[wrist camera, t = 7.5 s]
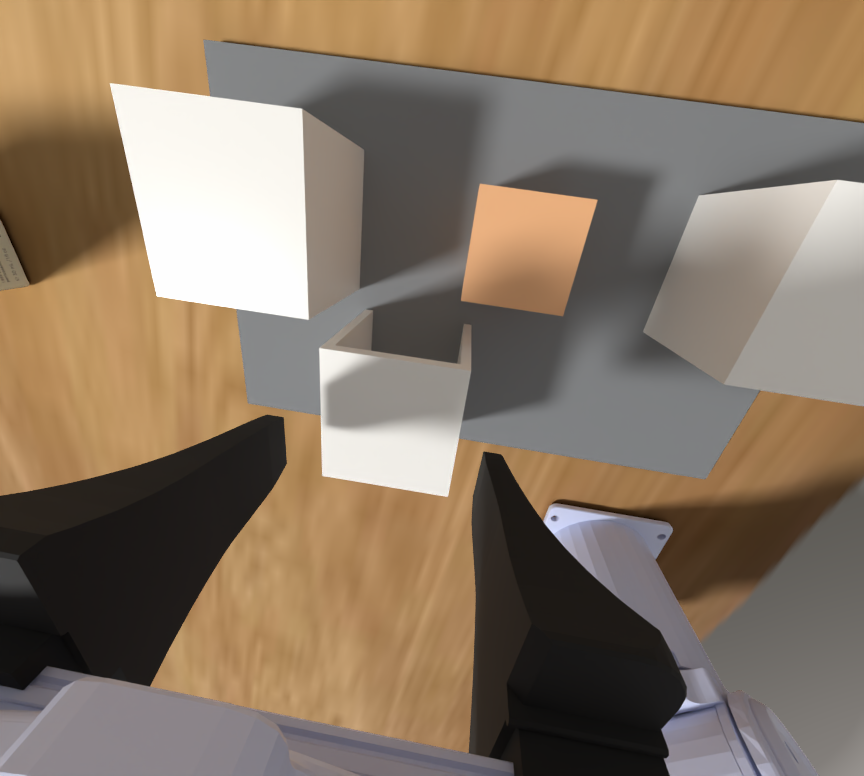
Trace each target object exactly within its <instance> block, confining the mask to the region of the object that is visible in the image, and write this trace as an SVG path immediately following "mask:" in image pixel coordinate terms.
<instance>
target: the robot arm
mask: <svg viewBox="0 0 864 776" xmlns="http://www.w3.org/2000/svg"><path fill="white" fill-rule="evenodd" d="M286 464H287V460H286V445H285V431H284V417H278V416H272V415H265V416H262V417H260V418H257V419H255V420H252V421H250V422H248V423H245V424H243V425H241V426H239V427H236V428H234V429H232V430H230V431H227V432H225V433H223V434H220V435H218V436H216V437H214V438H211V439H209V440H207V441H204V442H202V443H199V444H197V445H194V446H192V447H189V448H187V449H184V450H182V451H179V452H177V453H174V454H171V455H168V456H166V457H163V458H160V459H157V460H154V461H151V462H148V463H144V464H141V465H138V466H135V467H132V468H128V469H124V470H120V471H117V472H113V473H109V474H106V475H102V476H98V477H94V478H90V479H86V480H82V481H77V482H73V483H68V484H64V485H59V486H54V487H49V488H44V489H39V490H33V491H28V492H22V493H16V494H9V495H3V496H0V776H819V774H818V773H817V771H816V770H815V768H814V767H813V765H812V764H811V762H810V761H809V760H808V758H807V757H806V755H805V754H804V752H803V751H802V749H801V748H800V747H799V745H798V744H797V742H796V741H795V740H794V738H793V737H792V735H791V734H790V733H789V731H788V730H787V729H786V727H785V726H784V725H783V723H782V722H781V721H780V720H779V719H778V717H777V716H776V715H775V714H774V712H773V711H772V710H771V709H770V708H769V707H767V706H766V705H764V704H762V703H760V702H759V701H757V700H755V699H753V698H751V697H750V696H749V695H748V694H747V693H745V692H743V691H742V690H738V691H736V692H732V693H729V692H728V691H727V690H726V689H725V688H724V686H723V684H722V682H721V680H720V679H719V677H718V675H717V673H716V671H715V670H714V667H713V665H712V664H711V662H710V660H709V658H708V656H707V654H706V653H705V651H704V649H703V647H702V645H701V643H700V641H699V640H698V638H697V636H696V634H695V632H694V630H693V629H692V627H691V625H690V623H689V621H688V619H687V617H686V616H685V614H684V612H683V610H682V608H681V606H680V604H679V603H678V601H677V599H676V597H675V595H674V593H673V592H672V590H671V588H670V586H669V584H668V582H667V580H666V579H665V577H664V575H663V573H662V571H661V569H660V568H659V566H658V564H657V562H656V558H657V557H658V555H659V553H660V552H661V550H662V548H663V547H664V545H665V543H666V542H667V540H668V539H669V537H670V535H671V534H672V532H673V528H672V527H671V525H670V524H669V523H667V522H663V521H657V520H651V519H646V518H640V517H634V516H628V515H622V514H616V513H611V512H605V511H599V510H593V509H587V508H581V507H576V506H570V505H564V504H558V503H555V504H552V505H550V506H549V508H548V510H547V513H546V516H545V518H544V521H542V519H541V518H540V517H539V515H538V514H537V512H536V511H535V510H534V508H533V507H532V505H531V504H530V502H529V501H528V499H527V498H526V496H525V495H524V493H523V491H522V490H521V488H520V487H519V485H518V483H517V482H516V480H515V478H514V476H513V475H512V473H511V471H510V469H509V467H508V466H507V464H506V462H505V460H504V458H503V456H502V455H501V454H495V453H489V452H483V456H482V461H481V465H480V469H479V473H478V478H477V482H476V486H475V490H474V494H473V506H472V538H473V554H474V569H475V585H476V612H475V642H474V668H473V688H472V708H471V725H470V742H469V753H465V752H460V751H455V750H450V749H445V748H440V747H436V746H431V745H426V744H421V743H416V742H411V741H407V740H402V739H397V738H392V737H387V736H382V735H378V734H373V733H368V732H363V731H358V730H353V729H349V728H344V727H339V726H334V725H329V724H325V723H320V722H315V721H310V720H305V719H300V718H296V717H291V716H286V715H281V714H276V713H271V712H267V711H262V710H257V709H252V708H247V707H242V706H238V705H234V704H231V703H226V702H221V701H217V700H212V699H207V698H202V697H197V696H192V695H188V694H183V693H178V692H173V691H168V690H163V689H159V688H154V687H150V685H151V683H152V681H153V679H154V677H155V675H156V673H157V672H158V670H159V668H160V666H161V664H162V662H163V660H164V658H165V656H166V654H167V652H168V650H169V648H170V646H171V644H172V642H173V641H174V639H175V637H176V635H177V633H178V631H179V630H180V628H181V626H182V624H183V622H184V620H185V619H186V617H187V615H188V613H189V611H190V610H191V608H192V606H193V604H194V603H195V601H196V599H197V598H198V596H199V594H200V592H201V591H202V589H203V587H204V586H205V584H206V582H207V580H208V579H209V577H210V576H211V574H212V572H213V571H214V569H215V567H216V566H217V564H218V563H219V561H220V559H221V558H222V556H223V554H224V553H225V551H226V550H227V549H228V547H229V546H230V544H231V543H232V541H233V540H234V539H235V537H236V536H237V535H238V533H239V532H240V531H241V530H242V528H243V527H244V526H245V524H246V523H247V522H248V520H249V519H250V518H251V516H252V515H253V514H254V513H255V511H256V510H257V509H258V507H259V506H260V505H261V503H262V502H263V501H264V499H265V498H266V497H267V495H268V494H269V493H270V491H271V490H272V488H273V487H274V485H275V484H276V482H277V480H278V479H279V477H280V475H281V473H282V471H283V469H284V468H285V466H286ZM552 516H556V517H552ZM660 534H661V535H660Z"/></svg>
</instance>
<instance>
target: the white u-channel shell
mask: <svg viewBox="0 0 864 776" xmlns="http://www.w3.org/2000/svg"><path fill="white" fill-rule="evenodd" d="M372 325H373V310H364V311H363V312H362V313H361V314H360V315H358V316H357V317H356V318H355V319H354V320H352V321H351V322H350V323H349V324H347V325H346V326H345V327H344V328H343V329H341V330H340V331H339V332H338V333H337V334H335V335H334V336H333V337H332V338H331V339H329V340H328V341H327V342H326V343H325V344H323V345H322V346H321V347H320V348H319V361H320V401H321V442H322V476H326V477H332V478H338V479H344V480H350V481H356V482H362V483H368V484H374V485H380V486H386V487H392V488H398V489H404V490H410V491H416V492H422V493H428V494H434V495H440V496H446V497H448V493H449V488H450V483H451V477H452V472H453V466H454V461H455V456H456V450H457V445H458V439H459V434H460V429H461V423H462V418H463V413H464V407H465V402H466V396H467V391H468V386H469V380H470V375H471V325H469V324H464V326H463V332H462V338H461V344H460V350H459V356H458V362H457V364H456V363H449V362H442V361H436V360H429V359H422V358H416V357H409V356H403V355H396V354H389V353H383V352H376V351H371V347H372Z"/></svg>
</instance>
